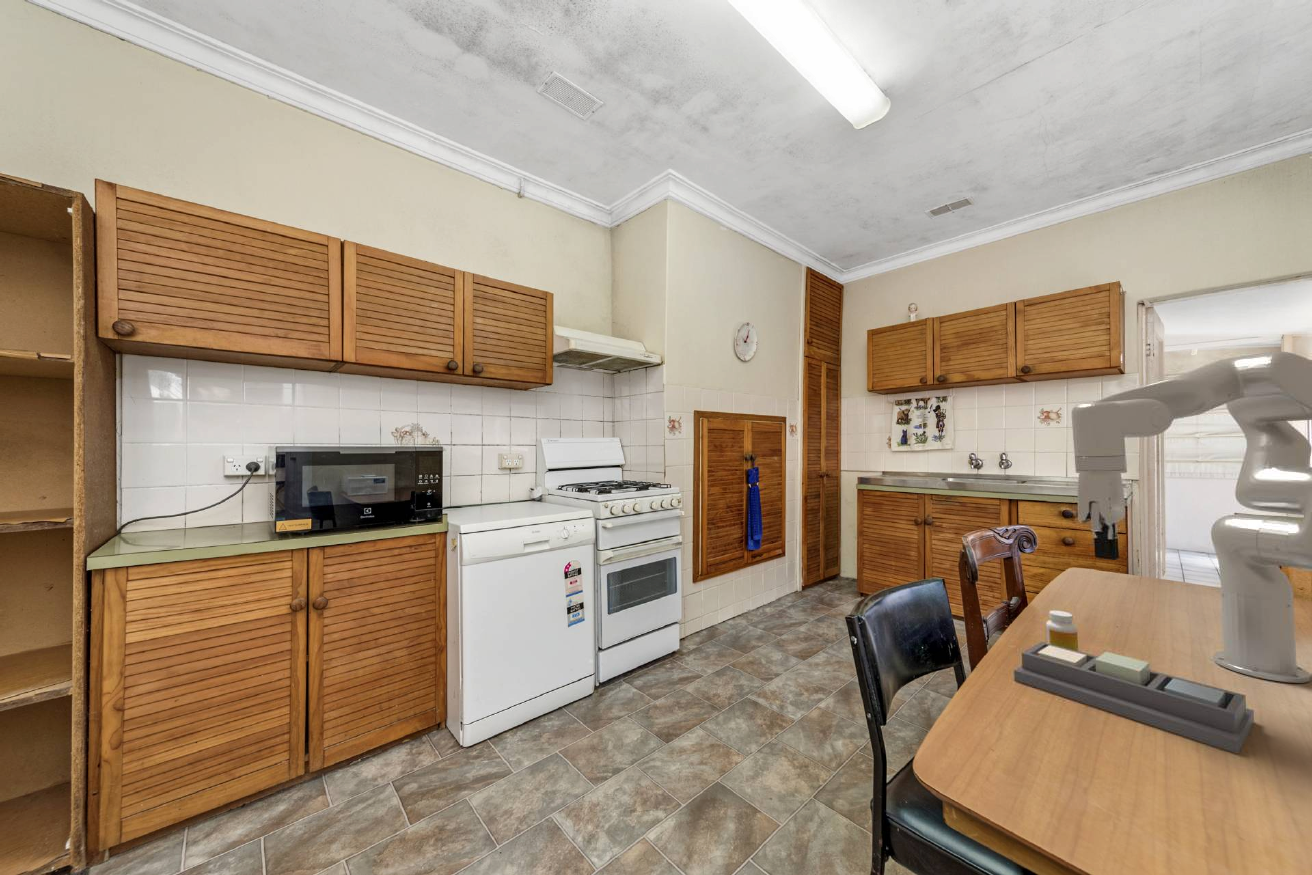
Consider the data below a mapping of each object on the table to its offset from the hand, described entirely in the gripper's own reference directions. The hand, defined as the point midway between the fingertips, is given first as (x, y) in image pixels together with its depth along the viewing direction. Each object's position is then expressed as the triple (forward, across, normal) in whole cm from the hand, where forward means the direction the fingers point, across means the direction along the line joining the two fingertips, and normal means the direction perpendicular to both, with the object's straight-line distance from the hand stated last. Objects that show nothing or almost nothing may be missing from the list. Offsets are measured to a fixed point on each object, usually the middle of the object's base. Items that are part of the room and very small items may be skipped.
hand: (1107, 558), depth 96 cm
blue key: (+22, +7, +12) cm, 26 cm away
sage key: (+20, +7, +3) cm, 22 cm away
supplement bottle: (+25, -6, -10) cm, 28 cm away
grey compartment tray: (+24, +7, +3) cm, 25 cm away
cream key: (+22, +7, -6) cm, 24 cm away
